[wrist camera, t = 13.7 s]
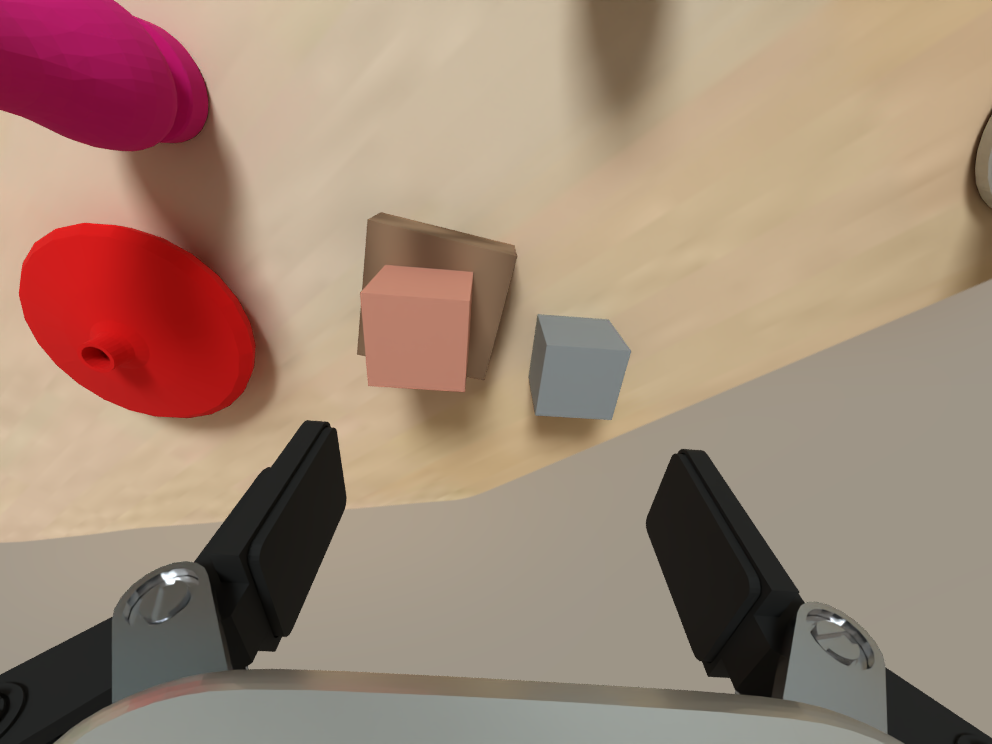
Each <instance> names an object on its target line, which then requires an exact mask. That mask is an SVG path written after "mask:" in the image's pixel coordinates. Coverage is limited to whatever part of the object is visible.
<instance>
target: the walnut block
mask: <svg viewBox="0 0 992 744" xmlns="http://www.w3.org/2000/svg"><path fill="white" fill-rule="evenodd" d="M516 259H517V254H516V250H515V246H514V245H511V244H507V243H502V242H498V241H494V240H490V239H486V238H482V237H478V236H474V235H470V234H466V233H462V232H458V231H454V230H450V229H446V228H442V227H438V226H434V225H430V224H426V223H422V222H418V221H414V220H410V219H406V218H402V217H398V216H394V215H390V214H386V213H382V212H381V213H379V214H377V215H375V216H373V217H372V218H370V219H368V222H367V235H366V248H365V260H364V273H363V286H362V290H363V289H364V288H365V287H366V286H367V285H368V283H369V282H370V281H371V280H372V279H373V278H374V277H375V276H376V275H377V273H378V272H379V271H380V270H381V269H382V268H383V267H384V266H385V265H393V266H406V267H418V268H431V269H443V270H456V271H468V272H473V286H472V303H471V321H470V338H469V353H468V364H467V374H466V376H467V377H472V378H477V379H482V380H485V376H486V372H487V368H488V365H489V361H490V357H491V353H492V349H493V346H494V342H495V338H496V334H497V331H498V327H499V323H500V319H501V315H502V312H503V308H504V304H505V300H506V297H507V293H508V289H509V285H510V281H511V278H512V274H513V270H514V266H515V263H516ZM357 355H362V356H366V354H365V343H364V332H363V320H362V309H361V311H360V324H359V337H358V350H357Z"/></svg>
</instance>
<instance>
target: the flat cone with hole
mask: <svg viewBox="0 0 992 744" xmlns="http://www.w3.org/2000/svg"><path fill="white" fill-rule="evenodd" d="M19 297H20V301H21V305H22V309H23V314H24V318H25V320H26V322H27V324H28V326H29V327H30V329H31V331H32V333H33V335H34V337H35V339H36V340H37V342H38V344H39V345H40V346H41V347H42V348H43V350H44V351H45V352H46V353H47V354H48V355H49V357H50V358H51V359H52V360H53V361H54V363H55V364H56V365H57V366H58V367H59V368H61V369H62V370H63V371H64V372H65V373H67V374H68V375H69V376H70V377H71V378H72V379H74V380H75V381H76V382H77V383H78V384H80V385H81V386H83V387H85V388H86V389H88V390H90V391H91V392H93V393H94V394H96V395H98V396H99V397H101V398H103V399H104V400H107V401H109V402H112V403H114V404H116V405H119V406H121V407H123V408H126V409H128V410H131V411H135V412H139V413H144V414H148V415H152V416H158V417H177V418H192V417H198V416H204V415H210V414H213V413H215V412H217V411H219V410H221V409H223V408H225V407H228V406H230V405H231V404H232V403H233V402H234V401H235V400H236V399H237V398H238V397H239V396H240V395H241V394H242V393H243V392H244V390H245V388H246V385H247V383H248V381H249V379H250V377H251V374H252V371H253V368H254V362H255V346H256V345H255V341H254V337H253V332H252V328H251V324H250V321H249V319H248V318H247V316H246V314H245V312H244V310H243V308H242V306H241V304H240V302H239V301H238V299H237V297H236V296H235V295H234V294H233V293H232V291H231V290H230V289H229V288H228V287H227V285H226V284H225V283H224V282H223V281H222V279H221V278H220V277H219V276H218V275H217V274H216V273H215V272H213V271H212V270H211V269H210V268H209V267H207V266H206V265H205V264H204V263H202V262H201V261H200V260H199V259H198V258H196V257H195V256H194V255H193V254H191V253H189V252H187V251H186V250H184V249H182V248H180V247H178V246H176V245H175V244H173V243H171V242H169V241H167V240H166V239H164V238H161V237H158V236H155V235H152V234H148V233H145V232H142V231H139V230H136V229H133V228H128V227H123V226H117V225H105V224H92V223H81V224H76V225H72V226H67V227H62V228H58V229H55V230H53V231H52V232H50V233H49V234H47V235H46V236H44V237H43V238H41V239H40V240H38V241H37V242H35V243H34V245H33V247H32V248H31V250H30V252H29V253H28V255H27V257H26V258H25V260H24V262H23V265H22V271H21V279H20V288H19Z"/></svg>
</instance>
